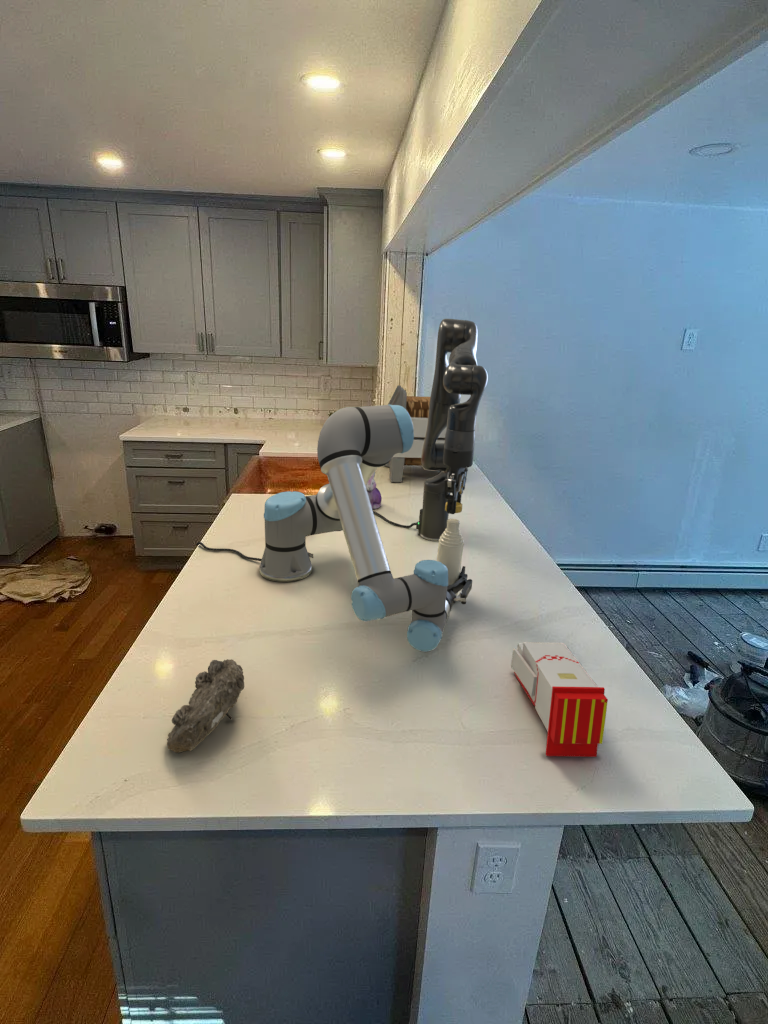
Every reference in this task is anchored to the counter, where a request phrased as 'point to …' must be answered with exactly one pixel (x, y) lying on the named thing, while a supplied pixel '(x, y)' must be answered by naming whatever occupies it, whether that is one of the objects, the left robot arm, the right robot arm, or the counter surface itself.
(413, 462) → the transformer
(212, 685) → the fossil
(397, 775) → the counter surface
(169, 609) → the counter surface
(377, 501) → the figurine
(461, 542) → the bottle
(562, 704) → the toy
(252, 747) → the counter surface
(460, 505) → the cap
